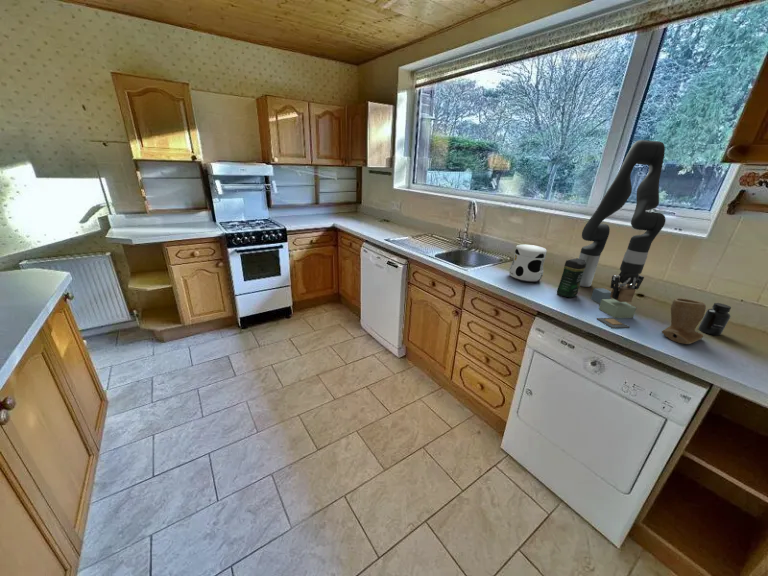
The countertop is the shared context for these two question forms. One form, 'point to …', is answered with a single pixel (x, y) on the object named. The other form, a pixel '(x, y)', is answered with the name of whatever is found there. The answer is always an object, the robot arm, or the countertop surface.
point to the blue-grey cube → (600, 294)
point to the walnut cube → (624, 294)
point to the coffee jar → (571, 277)
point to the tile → (613, 322)
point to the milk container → (528, 263)
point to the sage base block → (617, 308)
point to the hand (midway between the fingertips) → (620, 298)
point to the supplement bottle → (715, 319)
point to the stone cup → (685, 320)
